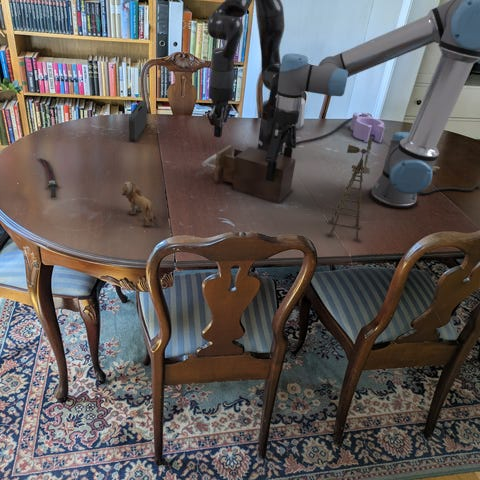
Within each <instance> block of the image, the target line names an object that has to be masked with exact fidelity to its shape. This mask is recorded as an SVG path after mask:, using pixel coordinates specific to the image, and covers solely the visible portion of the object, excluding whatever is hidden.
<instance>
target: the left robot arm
mask: <svg viewBox="0 0 480 480" xmlns="http://www.w3.org/2000/svg"><path fill="white" fill-rule="evenodd" d="M252 2H253V0H224V1H222V2H221V3H220V5H219V6H218V7H217V8H215V9H214V10H213V12H212V13H211V15H210V16H209V18H208V21H207V25H206V29H207V33H208V35H209V37H211V38H212V39H215V40H220V41H225V45H224V47H216V48H214V49H213V50H212V52H211V61H210V62H211V65H210V71H209V72H210V73H209V87H208V98H209V99H210V100H211V106H210V109H211V110H210V112H208V111H207V113H206V117H207V119H208V121H209V123H210V126H214V127H213V129H214V130H213V136H214V137H215V138H221V137H222V136H223V126H225V125H224V124H225V123H227V121H228V118H229V115H230V113H231V110H232V105H230V104H229V102H231V101H232V100H233V94H234V93H233V92H234V81H235V75H234V69H235V57H236V53H237V50H238V47H239V45H240V41H241V38H242V35H243V32H244V25H243V21H242V19H241V18H243V17H244V16H245V15H246V14H247V12H248V10H249V8H250V7H251V4H252ZM254 3H255V15H256V24H257V31H258V37H259V38H258V39H259V47H260V56H261V82H262V85H263V86H264V87H265V88H266V89H267V90H269V97H268V99H265V100H263V102H262V105H261V114H260V123H259V131H258V138H257V148H256V149H260V150H263V151H267V152H268V149H269V145H270V142H271V138H272V134H273V129H277V127H278V123H277V122H276V121H275V120H274V113H275V108H276V99H277V98H275V96H276V95H277V91H278V82H279V74H280V68H281V62H282V60H281V53H280V52H281V51H280V47H281V42H282V39H283V36H284V33H285V26H286V25H285V12H284V5H283V3H282V0H254ZM365 113H366V112H365ZM366 114H369V115H371V117H372V118H373V116H372V114H370V113H368V112H367V113H366ZM357 115H358V116H360V117H361V116H362V114H357ZM350 121H352V117H350V118H348V119H346V120H345V121H344V122H342V123H341V124H340V125H339V126H338V127H336V128H335V129H334V130H331V131H330V132H328V133H326V134H323V135H321V136H316V137H313V138H308V139H304V140H299V141H296V144H295V145H296V146H297V145H298V144H302V143H308V142H312V141H316V140H320V139H322V138H325V137H328V136H331V135H332V134H334V133H336V131H338V130H340V128H342V127H343V126H345V124H347V123H349V122H350ZM283 151H284V143H283V144H282V147H281V149H280V152H279V155H283Z"/></svg>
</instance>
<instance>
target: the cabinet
mask: <svg viewBox="0 0 480 480" xmlns="http://www.w3.org/2000/svg"><path fill="white" fill-rule="evenodd" d="M266 155H267V151H263V150H260V149H257V148H256V147H252V146H248V148H245V149H244V151H243V152H241V153H240V154H238V155H237V156H236V157H235V166H234V177H233V183H232V187H231V188H232V190H234V191H237V192H241V193H244V194H247V195H250V196H254V197H257V198H259V199H263V200H267V201H270V202H273V203H276V204H280V203H281V201H283V199H284V198H286V196H287V195H288V194H289V193H290V192H291V190H292V185H293V178H294V173H295V167H296V158H293V157H291V158H289V157H286V156H283V154H280V155H278V157H277V160H276V162H277V166H276V173H275V180H274V182H272V181H268V180H266V173H267V165H268V162H267V161H265V158H266Z"/></svg>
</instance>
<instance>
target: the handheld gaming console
mask: <svg viewBox="0 0 480 480" xmlns="http://www.w3.org/2000/svg"><path fill="white" fill-rule="evenodd" d="M147 104H148V103H147V101H146V100H140V101H139V102H137V104H136V105H135V107H134V108H133V110H132V111H131V113H130V114H129V116H128V139H129V141H131V142H136V141H137V140H138V138H140V137H139V136H141V134H142V132H143V130H144V129H145V127H146V125H147V123H148V105H147Z"/></svg>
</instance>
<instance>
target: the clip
mask: <svg viewBox="0 0 480 480" xmlns="http://www.w3.org/2000/svg"><path fill="white" fill-rule="evenodd" d="M369 114H370V113H368V114H366V112H361V115H362V116H361V117H360V116H358V115H359V113H358V112H353V114H352V117H351V118H352V120H351V122H350V126H349V129H350V130H351V131H353V132H352V136H353V137H354V138H356V139H358V140H361V141H363V142H364V143H368V142H369V138H370V136H371V135H372V136H374V139H373V140H374V142H376V143H382V140H383V137H384V132H385V129H386V127H385V122H384V121H383V120H380V119H377V118H374V117H373V116H372V117H371V115H372V114H371V115H369Z"/></svg>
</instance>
